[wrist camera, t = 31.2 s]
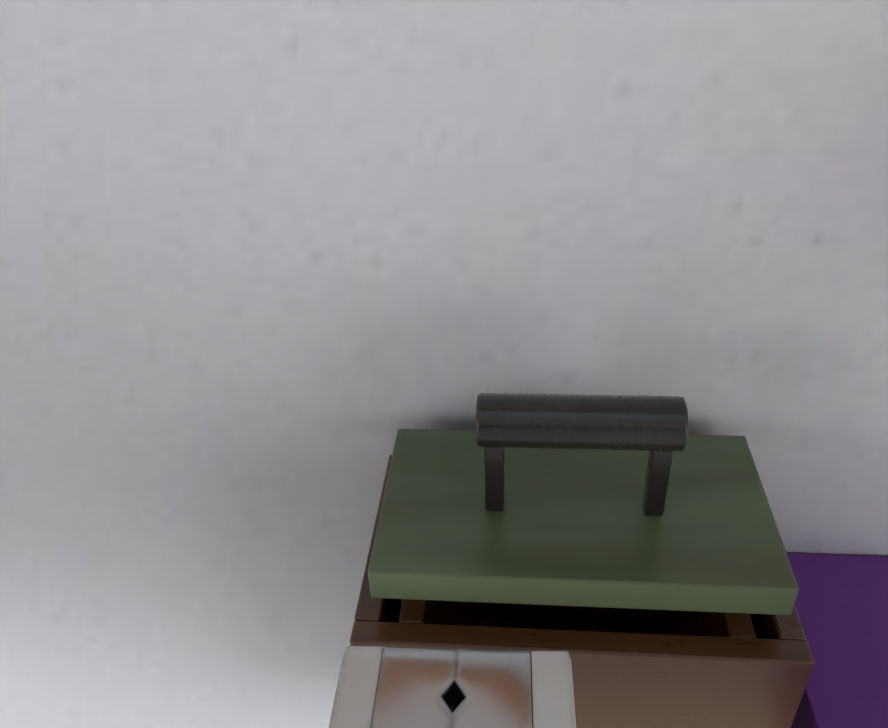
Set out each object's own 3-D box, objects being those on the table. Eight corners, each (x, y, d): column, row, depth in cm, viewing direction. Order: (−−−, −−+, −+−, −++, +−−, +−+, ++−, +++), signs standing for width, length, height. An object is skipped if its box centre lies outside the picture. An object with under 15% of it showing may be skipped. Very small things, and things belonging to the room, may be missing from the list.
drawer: (387, 328, 26) (350, 463, 21) (768, 331, 25) (837, 475, 20) (421, 666, 37) (402, 816, 32) (690, 680, 36) (720, 838, 30)
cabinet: (389, 453, 31) (349, 641, 24) (746, 462, 30) (815, 663, 23) (415, 688, 40) (391, 876, 33) (691, 702, 38) (728, 901, 31)
